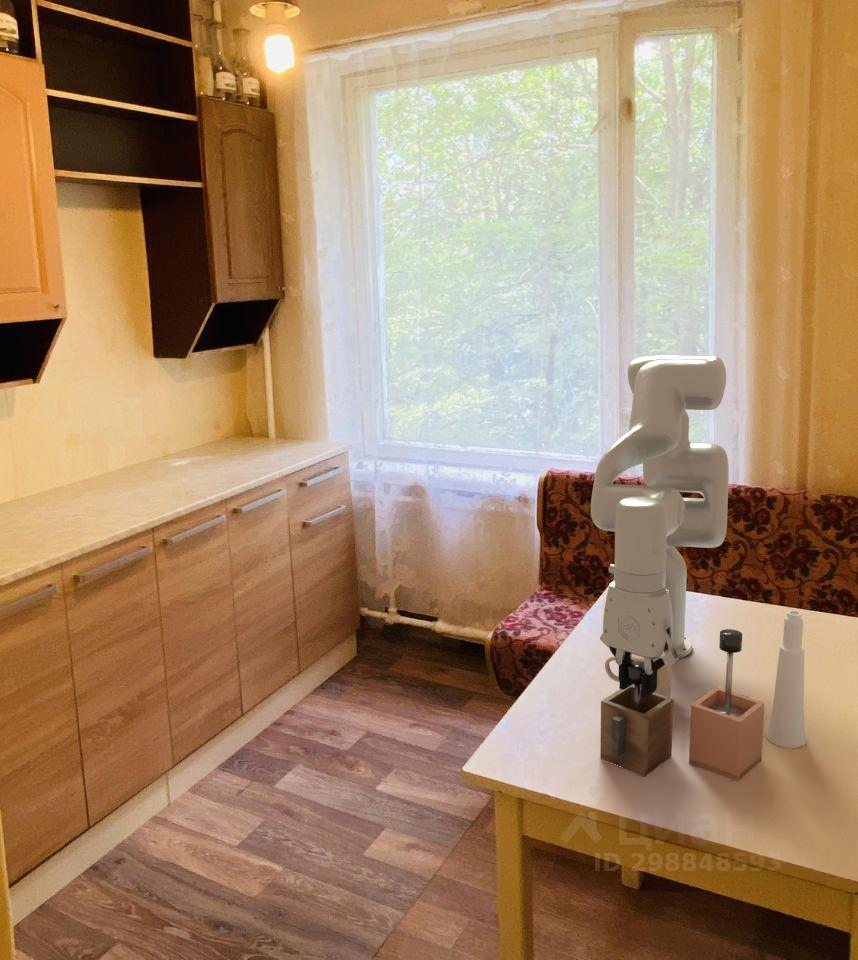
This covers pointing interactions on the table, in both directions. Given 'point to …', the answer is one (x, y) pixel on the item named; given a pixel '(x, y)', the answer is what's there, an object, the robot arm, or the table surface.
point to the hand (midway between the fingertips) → (637, 689)
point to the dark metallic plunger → (635, 680)
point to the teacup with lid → (662, 675)
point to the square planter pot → (726, 735)
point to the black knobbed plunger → (729, 669)
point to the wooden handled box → (636, 731)
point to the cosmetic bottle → (789, 687)
